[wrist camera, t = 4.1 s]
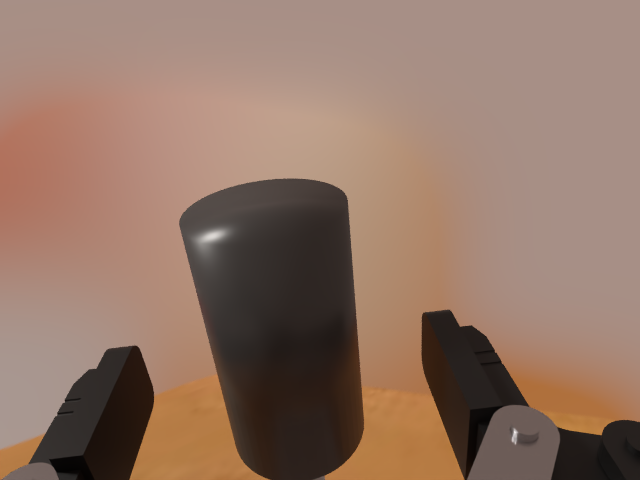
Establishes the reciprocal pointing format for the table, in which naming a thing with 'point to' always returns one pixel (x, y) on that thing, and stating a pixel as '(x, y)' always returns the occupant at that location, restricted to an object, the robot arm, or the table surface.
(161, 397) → the table surface
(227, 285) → the lever
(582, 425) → the table surface
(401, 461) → the table surface
